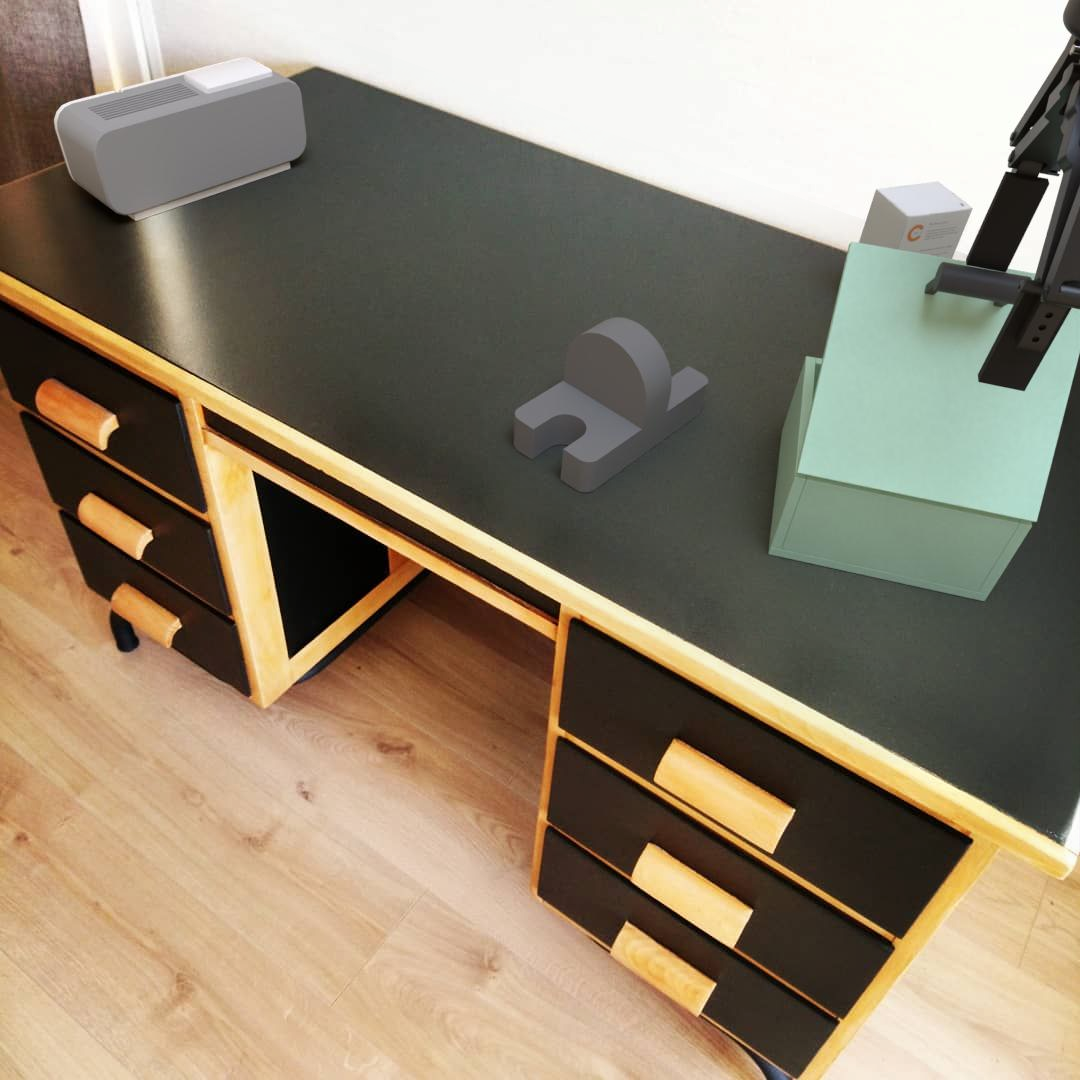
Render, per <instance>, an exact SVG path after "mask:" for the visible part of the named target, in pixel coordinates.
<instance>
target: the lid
mask: <svg viewBox="0 0 1080 1080" xmlns="http://www.w3.org/2000/svg"><path fill="white" fill-rule="evenodd" d="M1035 274H1036V272H1030V271H1029V272H1028V271H1023V270H1016V269H1012V268H1008V269H1007V271H1006V272H1001V271H995V270H990V269H985V268H979V267H974V266H969V265H966V260H960V259H953V258H952V259H949V258H943V257H937V256H932V255H926V254H920V253H914V252H909V251H903V250H897V249H891V248H886V247H880V246H874V245H868V244H863V243H859V242H857V241H850V243H849V244H848V248H847V251H846V256H845V260H844V266H843V269H842V273H841V278H840V282H839V286H838V289H837V290H838V291H837V294H836V299H835V303H834V308H833V312H832V316H831V321H830V325H829V329H828V333H827V338H826V341H825V347H824V350H823V355H822V358H821V359H822V363H821V367H820V372H819V376H818V380H817V385H816V389H815V393H814V397H813V402H812V406H811V410H810V415H809V419H808V423H807V427H806V432H805V436H804V440H803V445H802V449H801V453H800V457H799V462H798V466H797V470H796V473H798V474H802V475H807V476H812V477H817V478H822V479H827V480H832V481H836V482H841V483H846V484H851V485H856V486H861V487H865V488H870V489H875V490H880V491H885V492H890V493H894V494H899V495H904V496H909V497H914V498H919V499H924V500H928V501H933V502H938V503H943V504H948V505H953V506H957V507H962V508H967V509H972V510H977V511H982V512H987V513H991V514H996V515H1001V516H1006V517H1011V518H1016V519H1020V520H1025V521H1030V522H1031V523H1037V522H1038V519H1039V516H1040V515H1039V514H1040V511H1041V506H1042V502H1043V499H1044V494H1045V491H1046V488H1047V483H1048V479H1049V475H1050V472H1051V468H1052V464H1053V459H1054V456H1055V452H1056V448H1057V445H1058V440H1059V436H1060V432H1061V428H1062V425H1063V420H1064V416H1065V412H1066V409H1067V405H1068V400H1069V397H1070V393H1071V389H1072V385H1073V381H1074V377H1075V375H1076V374H1075V373H1076V371H1077V370H1076V369H1077V365H1078V361H1079V358H1080V309H1075V308H1072V309H1071V310H1070V312H1069V314H1068V316H1067V318H1066V319H1065V321H1064V323H1063V325H1062V326H1061V328H1060V330H1059V332H1058V333H1057V335H1056V337H1055V339H1054V340H1053V342H1052V344H1051V346H1050V347H1049V349H1048V351H1047V353H1046V354H1045V356H1044V358H1043V360H1042V361H1041V363H1040V365H1039V367H1038V368H1037V370H1036V372H1035V374H1034V375H1033V377H1032V379H1031V381H1030V382H1029V384H1028V386H1027V388H1026V389H1025V391H1020V390H1015V389H1010V388H1005V387H1000V386H995V385H991V384H986V383H981V382H978V373H979V371H980V369H981V367H982V365H983V363H984V361H985V360H986V358H987V356H988V354H989V352H990V350H991V348H992V346H993V344H994V342H995V340H996V338H997V336H998V334H999V332H1000V330H1001V328H1002V326H1003V325H1004V323H1005V321H1006V319H1007V317H1008V315H1009V313H1010V311H1011V309H1012V307H1013V305H1014V303H1015V301H1016V299H1017V297H1018V295H1019V293H1020V292H1018V290H1017V287H1018V283H1020V282H1021V281H1023V280H1026V279H1030V280H1034V278H1035Z"/></svg>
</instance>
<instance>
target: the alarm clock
mask: <svg viewBox="0 0 1080 1080" xmlns="http://www.w3.org/2000/svg"><path fill="white" fill-rule="evenodd" d="M305 120H306V119H305V112H304V103H303V96H302V92H301V89H300V87H299V85H298V84H297V83H296V82H295V81H293V80H292V79H289V78H288V77H286V76H284V75H282V74H280V73H278V72H276V71H274V69H271V68H270V67H268V66H266V65H264V64H262V63H260V62H258V61H256V60H255V59H252V58H251V57H248V56H242V57H236V58H233V59H229V60H224V61H222V62H217V63H213V64H209V65H205V66H202V67H198V68H193V69H190V70H187V71H182V72H179V73H175V74H170V75H167V76H164V77H159V78H156V79H151V80H148V81H144V82H140V83H136V84H131V85H129V86H125V87H121V88H120V89H119V91H115V90H109V91H106V92H101V93H97V94H94V95H89V96H86V97H82V98H78V99H74V100H71V101H68V102H66V103H64V104H62V105H60V107H59V108H58V109H57V110H56V112H55V115H54V119H53V123H54V130H55V133H56V136H57V139H58V142H59V146H60V149H61V152H62V156H63V159H64V163H65V165H66V168H67V171H68V174H69V176H70V177H71V179H72V181H74V182H75V184H77V186H80V187H81V188H82V189H83V190H85V191H86V192H88V193H89V194H90V195H92V196H93V197H94V198H96V199H97V200H98V201H100V202H101V203H103V204H104V205H105V206H106V207H108V208H109V209H111V210H112V211H113V212H115V213H116V214H118V215H122V216H128V217H129V218H131V219H132V220H134V221H135V222H137V221H141V220H143V219H146V218H149V217H152V216H155V215H158V214H161V213H164V212H167V211H170V210H172V209H176V208H178V207H181V206H184V205H187V204H190V203H193V202H196V201H199V200H202V199H205V198H208V197H211V196H214V195H217V194H220V193H223V192H226V191H229V190H231V189H235V188H237V187H241V186H243V185H246V184H249V183H252V182H255V181H258V180H261V179H264V178H266V177H270V176H273V175H276V174H279V173H282V172H284V171H287V170H290V169H291V163H290V162H292V161H295V160H296V159H298V158H300V156H301V155H302V154H303V153H304V151H305V150H306V146H307V136H308V135H307V129H306V121H305Z"/></svg>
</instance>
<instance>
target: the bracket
mask: <svg viewBox="0 0 1080 1080" xmlns="http://www.w3.org/2000/svg"><path fill="white" fill-rule="evenodd" d="M708 385H709V378H708V376H706V375H705V374H704V373H703V372H700V371H698V370H697V369H695V368H693V367H691V366H690V365H687V366H685V367H684V368H683V369H681V370H680V371H678V372H676V373H675V374H674V375H672V372H671V366H670V362H669V361H668V358H667V356H666V353H665V351H664V349H663V347H662V345H661V344H660V343H659V341H658V340H657V338H656V337H655V336H654V335H653V334H652V333H651V332H650V331H649V330H648V329H647V328H646V327H644V326H643V325H641V324H640V323H639V322H637V321H635V320H632V319H630V318H627V317H617V316H614V317H612V318H607V319H605V320H603V321H601V322H599V323H598V324H596V325H594V326H593V327H591V328H589V329H588V330H586V331H584V332H582V333H580V334H579V335H578V336H577V337H575V338H573V339H572V340H571V343H570V344H569V346H567V350H566V354H565V358H564V370H563V379H562V381H560V382H558V383H557V384H555V385H554V386H552V387H550V388H549V389H547V390H545V391H543V392H542V393H541V394H538V395H537V396H536V397H533V398H532V399H530V400H529V401H528V402H525V403H524V404H522V405H520V406H519V407H517V408H516V410H515V411H514V421H513V422H514V423H513V424H514V425H513V443H512V446H513V447H514V448H515V450H516V451H518V452H519V453H521V454H522V455H524V456H525V457H527V458H528V459H530V460H534V459H535V458H536V457H537V456H539V455H541V454H543V453H544V452H546V451H547V450H548V449H550V448H552V447H554V446H560V445H563V446H566V447H564V448H563V449H562V459H561V469H560V478H559V480H560V481H561V482H563V483H565V484H566V485H568V486H569V487H571V488H572V489H574V490H575V491H577V492H578V493H579V492H580V493H591V492H593V491H595V490H596V489H598V488H599V487H600V486H602V485H603V484H604V483H606V482H607V481H609V480H610V479H612V478H613V477H614V476H616V475H617V474H619V473H620V472H622V471H623V470H624V469H625V468H627V467H628V466H630V465H631V464H633V463H634V462H635V461H637V460H638V459H640V458H641V457H642V456H643V455H645V454H646V453H648V452H649V451H651V450H652V449H653V448H654V447H656V446H657V445H659V444H661V443H662V442H663V441H664V440H666V439H667V438H669V437H670V436H671V435H673V434H674V433H676V432H677V431H678V430H679V429H681V428H683V427H684V426H685V425H687V424H689V422H691V421H692V420H694V419H695V418H697V417H698V416H699V415H700V414H701V413H702V410H703V406H704V401H705V397H706V392H707V389H708Z"/></svg>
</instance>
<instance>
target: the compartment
mask: <svg viewBox="0 0 1080 1080" xmlns="http://www.w3.org/2000/svg"><path fill="white" fill-rule="evenodd" d="M822 359H823V358H819V357H814V356H809V355H806V356H805V358H804V360H803V365H802V367H801V371H800V374H799V377H798V380H797V383H796V386H795V388H794V392H793V395H792V398H791V402H790V405H789V408H788V411H787V414H786V417H785V420H784V424H783V428H782V430H781V435H780V445H779V454H778V462H777V472H776V480H775V489H774V499H773V506H772V507H773V508H772V517H771V525H770V534H769V544H768V553H767V555H769V556H773V557H779V558H784V559H788V560H792V561H796V562H801V563H805V564H806V563H807V564H811V565H816V566H820V567H824V568H829V569H834V570H839V571H843V572H847V573H852V574H857V575H861V576H865V577H870V578H875V579H880V580H884V581H889V582H893V583H897V584H902V585H906V586H912V587H915V588H920V589H926V590H930V591H935V592H939V593H944V594H949V595H952V596H957V597H962V598H965V599H971V600H976V601H980V602H985V601H986V600H987V598H988V596H989V595H990V594H991V592H992V590H993V589H994V587H995V586H996V584H997V583H998V582H999V579H1000V578H1001V577H1002V575H1003V573H1004V572H1005V570H1006V568H1007V567H1008V566H1009V563H1010V562H1011V561H1012V559H1013V557H1014V556H1015V554H1016V553H1017V551H1018V550H1019V548H1020V546H1021V545H1022V543H1023V542H1024V540H1025V538H1026V537H1027V535H1028V534H1029V532H1030V530H1031V529H1032V527H1033V522H1030V521H1025V520H1020V519H1016V518H1011V517H1006V516H1001V515H996V514H991V513H987V512H982V511H977V510H972V509H967V508H962V507H957V506H953V505H948V504H943V503H938V502H933V501H928V500H924V499H919V498H914V497H909V496H904V495H899V494H894V493H890V492H885V491H880V490H875V489H870V488H865V487H861V486H856V485H851V484H846V483H841V482H836V481H832V480H827V479H822V478H817V477H812V476H807V475H802V474H798V473H796V470H797V466H798V462H799V457H800V453H801V449H802V445H803V440H804V436H805V432H806V427H807V423H808V419H809V415H810V410H811V406H812V402H813V397H814V393H815V389H816V385H817V380H818V376H819V372H820V367H821V363H822Z"/></svg>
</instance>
